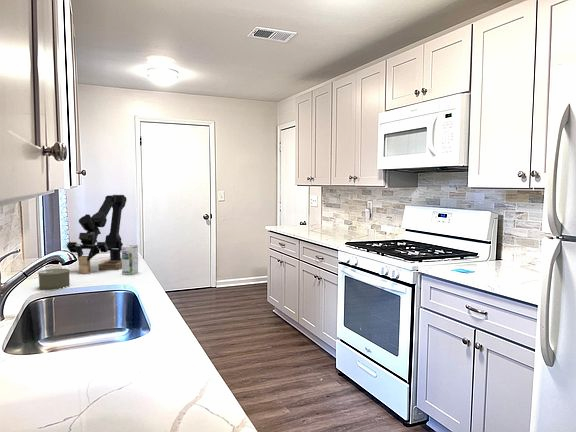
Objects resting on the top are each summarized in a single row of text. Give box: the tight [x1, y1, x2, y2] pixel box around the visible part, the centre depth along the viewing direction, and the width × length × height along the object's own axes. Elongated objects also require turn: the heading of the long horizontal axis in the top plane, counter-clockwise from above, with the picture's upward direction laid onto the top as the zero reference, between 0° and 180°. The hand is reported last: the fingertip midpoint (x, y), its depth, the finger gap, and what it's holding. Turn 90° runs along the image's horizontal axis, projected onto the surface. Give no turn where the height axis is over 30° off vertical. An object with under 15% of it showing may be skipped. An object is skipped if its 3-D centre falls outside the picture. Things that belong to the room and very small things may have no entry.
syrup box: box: [121, 244, 139, 276], centre depth 205 cm, size 6×6×14 cm
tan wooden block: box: [77, 255, 92, 275], centre depth 206 cm, size 4×4×8 cm
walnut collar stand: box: [98, 260, 122, 271], centre depth 219 cm, size 10×10×3 cm
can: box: [37, 268, 71, 291], centre depth 179 cm, size 12×12×7 cm
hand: (83, 260), depth 204 cm, fingers closed on tan wooden block, 4 cm apart
